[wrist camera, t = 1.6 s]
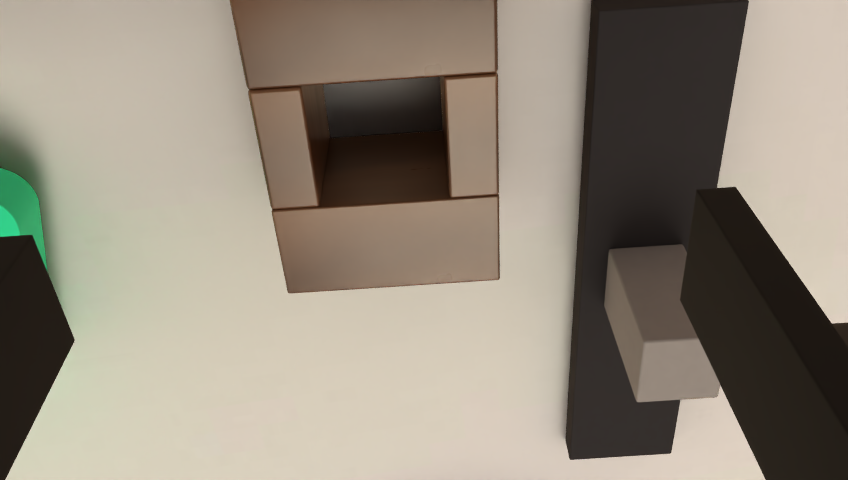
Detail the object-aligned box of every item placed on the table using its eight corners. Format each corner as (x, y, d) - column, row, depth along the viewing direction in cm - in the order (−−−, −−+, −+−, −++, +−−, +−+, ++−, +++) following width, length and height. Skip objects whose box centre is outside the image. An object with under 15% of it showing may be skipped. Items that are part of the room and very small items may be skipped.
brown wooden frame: (250, -73, 21) (222, -28, 17) (481, -90, 21) (497, -48, 17) (301, 217, 26) (287, 294, 23) (486, 205, 26) (499, 280, 23)
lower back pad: (591, -2, 22) (641, 78, 18) (736, -12, 22) (824, 66, 18) (565, 440, 32) (592, 563, 28) (664, 434, 32) (708, 556, 28)
